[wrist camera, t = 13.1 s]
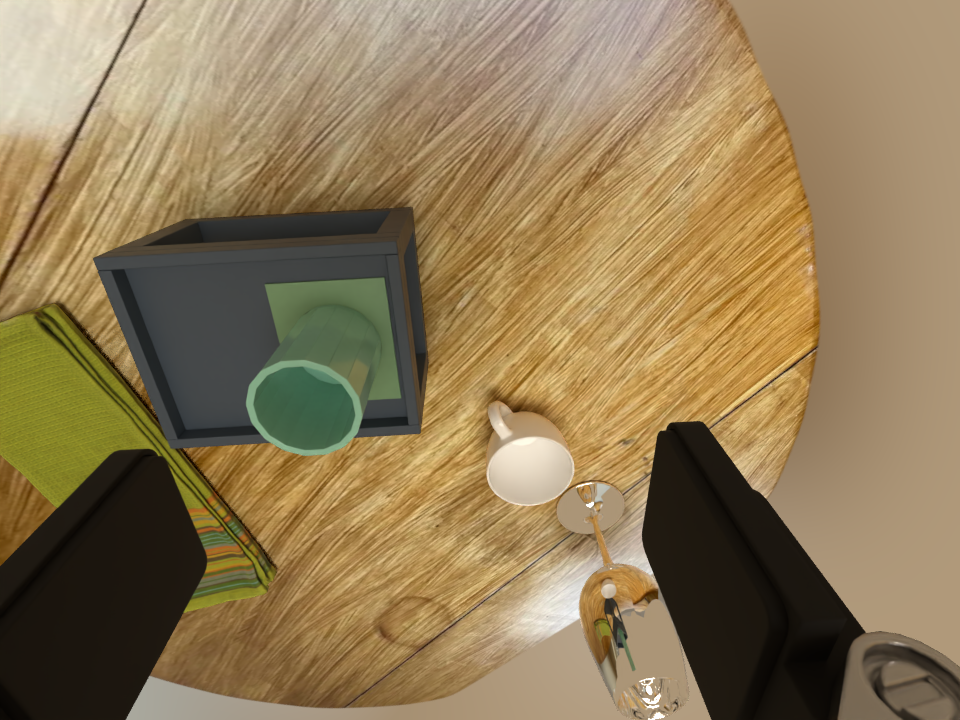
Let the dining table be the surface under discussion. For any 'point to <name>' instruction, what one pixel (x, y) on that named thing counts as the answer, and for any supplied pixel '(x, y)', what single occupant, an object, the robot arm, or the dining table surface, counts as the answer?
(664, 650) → the wineglass
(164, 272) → the tray
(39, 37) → the dining table surface
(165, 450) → the dish towel
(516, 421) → the cup
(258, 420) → the tumbler
